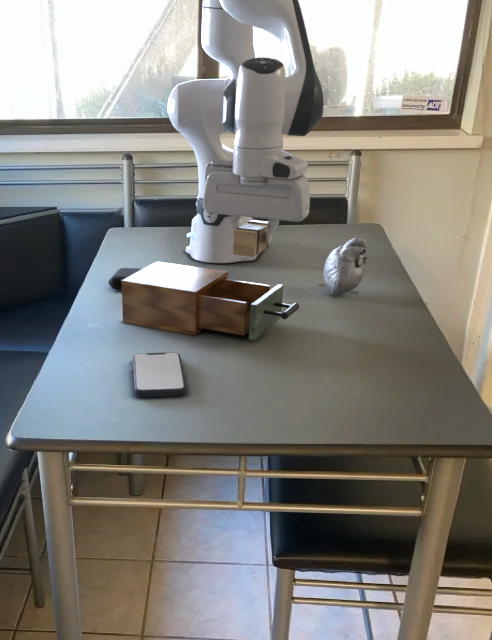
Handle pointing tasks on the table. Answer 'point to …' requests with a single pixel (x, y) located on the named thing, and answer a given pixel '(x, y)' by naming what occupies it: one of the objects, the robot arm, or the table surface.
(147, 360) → the smartphone
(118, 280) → the carrying case
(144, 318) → the cabinet
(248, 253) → the bundle
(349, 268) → the heart
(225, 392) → the table surface
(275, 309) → the drawer
